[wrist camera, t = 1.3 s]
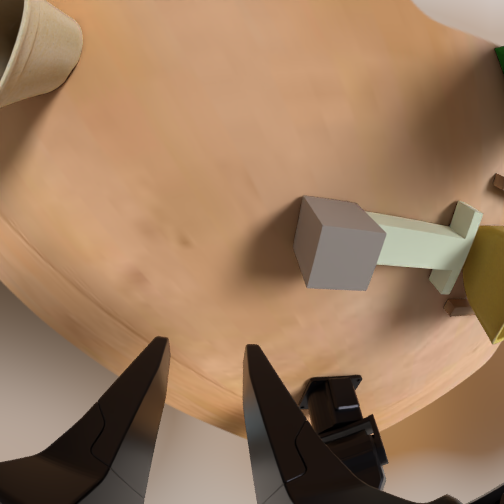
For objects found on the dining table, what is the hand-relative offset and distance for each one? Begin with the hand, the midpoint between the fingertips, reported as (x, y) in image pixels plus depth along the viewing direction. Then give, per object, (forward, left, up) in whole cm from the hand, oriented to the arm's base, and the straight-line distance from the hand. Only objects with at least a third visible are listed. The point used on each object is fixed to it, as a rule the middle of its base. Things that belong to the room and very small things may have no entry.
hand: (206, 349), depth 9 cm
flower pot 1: (+12, +14, -12) cm, 22 cm away
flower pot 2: (0, -26, -12) cm, 29 cm away
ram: (0, -13, -12) cm, 18 cm away
